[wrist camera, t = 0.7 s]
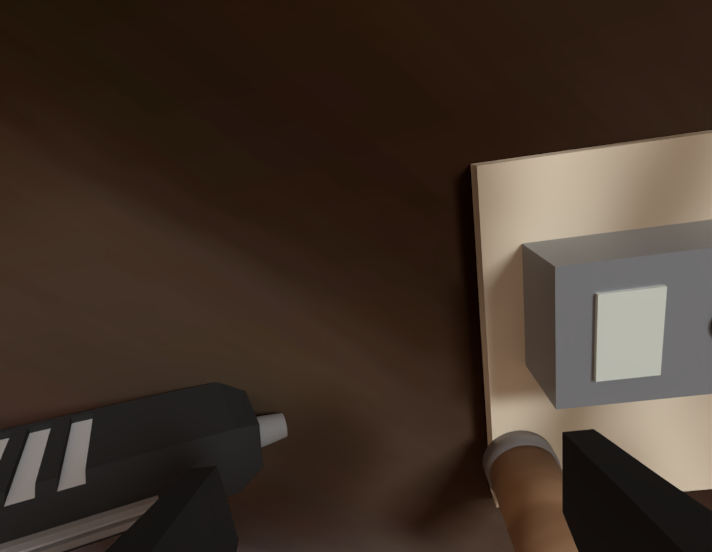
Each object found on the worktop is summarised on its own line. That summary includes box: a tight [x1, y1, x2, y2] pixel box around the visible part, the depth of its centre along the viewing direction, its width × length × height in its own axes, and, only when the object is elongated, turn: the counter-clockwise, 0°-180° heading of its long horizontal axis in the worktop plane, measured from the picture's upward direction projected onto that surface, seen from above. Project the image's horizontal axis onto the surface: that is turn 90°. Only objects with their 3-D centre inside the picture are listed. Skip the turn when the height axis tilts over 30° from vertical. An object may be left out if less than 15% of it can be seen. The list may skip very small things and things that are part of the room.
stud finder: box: [522, 219, 712, 410], centre depth 15 cm, size 7×5×3 cm
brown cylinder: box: [483, 430, 578, 552], centre depth 16 cm, size 3×3×6 cm
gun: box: [0, 383, 287, 552], centre depth 18 cm, size 3×16×10 cm, turn 90°
